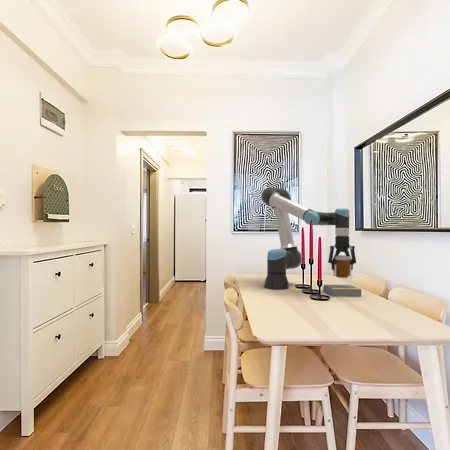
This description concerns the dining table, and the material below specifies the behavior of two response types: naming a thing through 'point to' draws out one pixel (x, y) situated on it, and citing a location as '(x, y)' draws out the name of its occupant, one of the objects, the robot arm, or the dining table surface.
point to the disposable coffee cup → (342, 266)
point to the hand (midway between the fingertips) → (342, 275)
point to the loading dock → (342, 290)
